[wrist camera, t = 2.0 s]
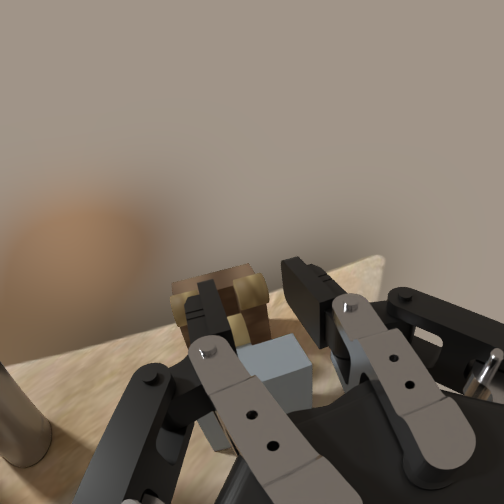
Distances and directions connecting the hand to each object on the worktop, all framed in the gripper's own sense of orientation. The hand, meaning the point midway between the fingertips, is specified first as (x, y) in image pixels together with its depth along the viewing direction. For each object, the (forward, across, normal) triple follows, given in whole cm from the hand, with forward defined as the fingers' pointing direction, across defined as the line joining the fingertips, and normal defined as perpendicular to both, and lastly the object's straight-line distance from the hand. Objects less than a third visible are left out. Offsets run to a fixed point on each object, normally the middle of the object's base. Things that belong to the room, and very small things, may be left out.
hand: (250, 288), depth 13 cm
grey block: (+8, 0, +20) cm, 21 cm away
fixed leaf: (+18, 0, +20) cm, 27 cm away
